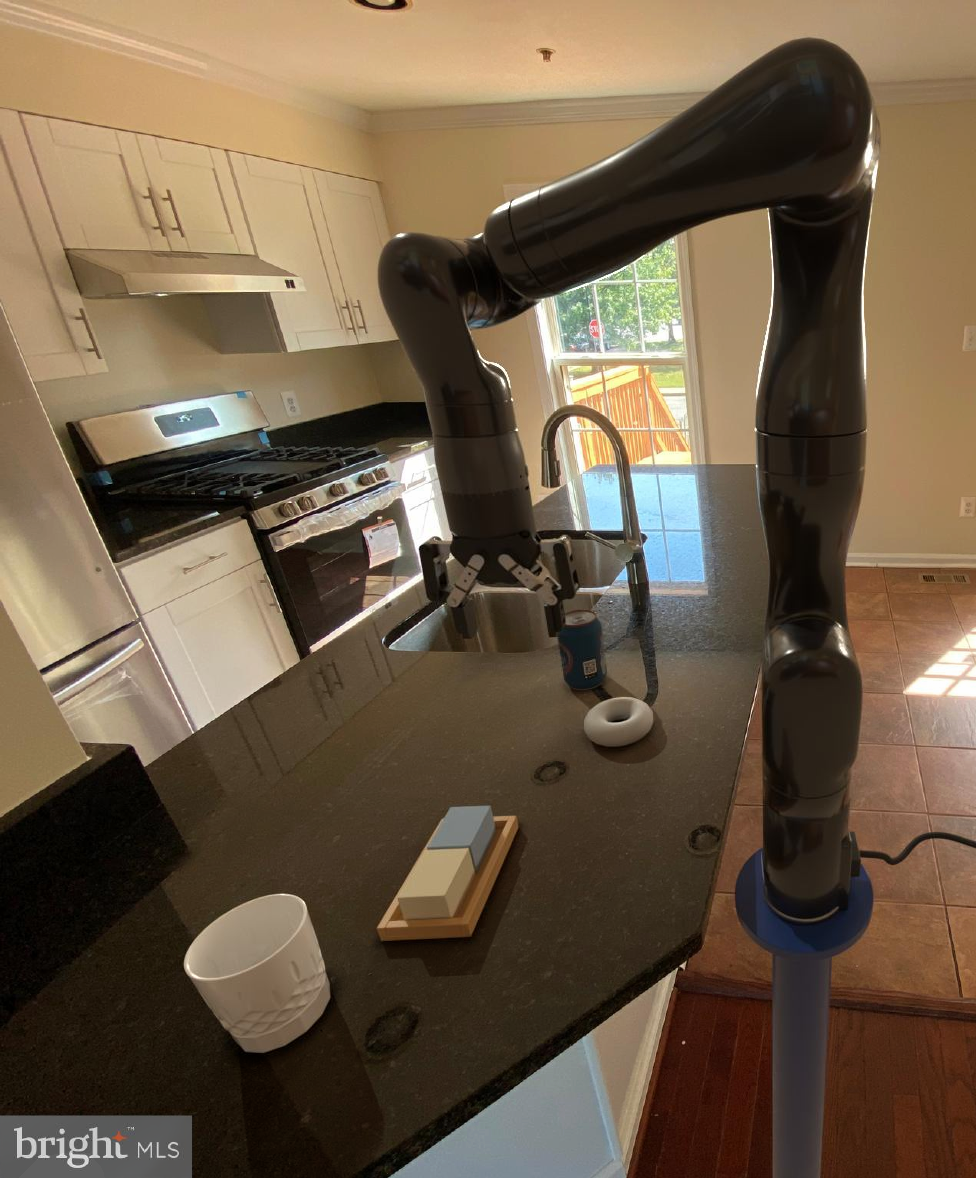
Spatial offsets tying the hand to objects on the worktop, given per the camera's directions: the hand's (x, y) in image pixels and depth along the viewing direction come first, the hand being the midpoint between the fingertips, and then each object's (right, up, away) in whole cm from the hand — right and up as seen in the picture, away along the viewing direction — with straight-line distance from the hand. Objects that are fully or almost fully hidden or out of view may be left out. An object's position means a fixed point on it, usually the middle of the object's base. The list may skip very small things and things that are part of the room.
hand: (513, 634), depth 65 cm
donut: (+4, -16, +28) cm, 33 cm away
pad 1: (-8, -25, +6) cm, 27 cm away
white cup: (-16, -33, -10) cm, 38 cm away
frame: (-8, -27, +4) cm, 28 cm away
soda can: (-5, -11, +41) cm, 42 cm away
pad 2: (-7, -28, 0) cm, 29 cm away
